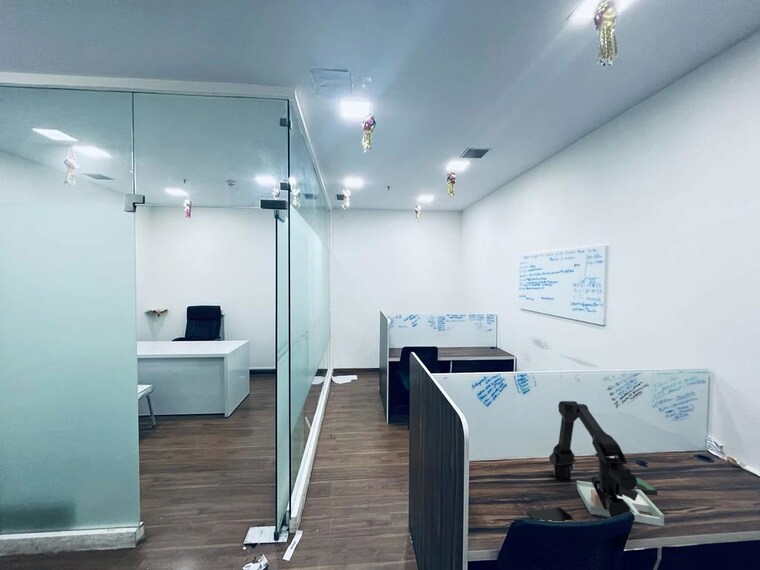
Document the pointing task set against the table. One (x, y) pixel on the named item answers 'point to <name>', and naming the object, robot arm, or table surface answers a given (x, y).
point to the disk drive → (645, 487)
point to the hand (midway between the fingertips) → (610, 517)
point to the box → (638, 505)
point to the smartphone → (550, 514)
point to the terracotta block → (595, 498)
